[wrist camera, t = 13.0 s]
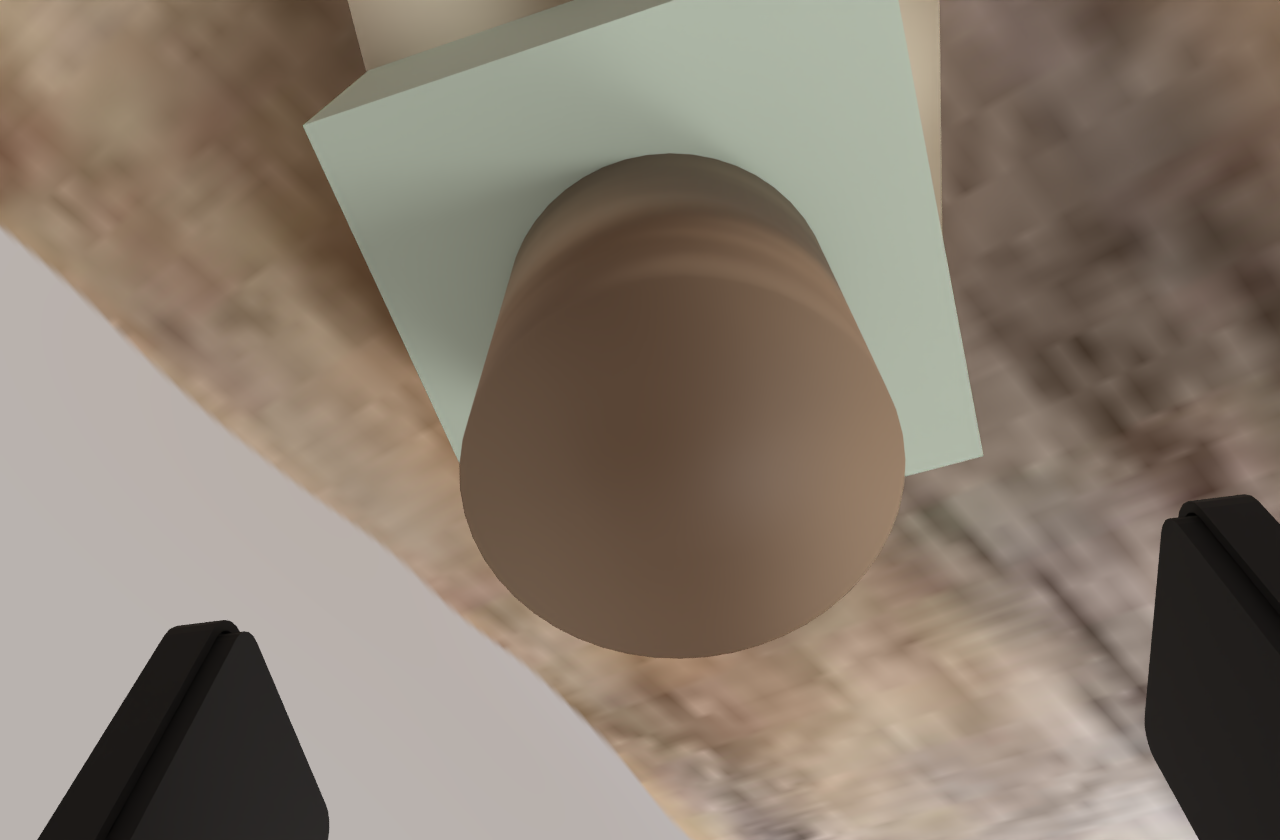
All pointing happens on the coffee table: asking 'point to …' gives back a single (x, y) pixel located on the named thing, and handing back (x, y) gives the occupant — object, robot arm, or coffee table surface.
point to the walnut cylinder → (678, 417)
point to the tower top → (645, 125)
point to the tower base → (471, 3)
